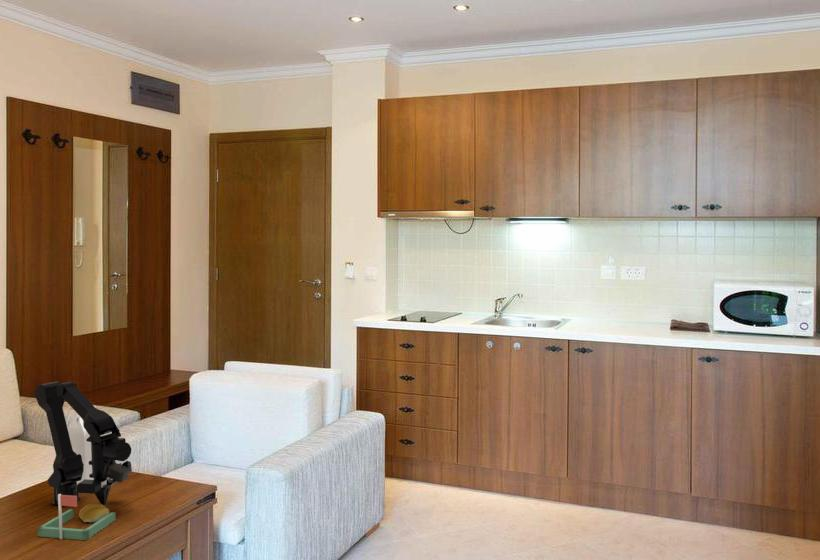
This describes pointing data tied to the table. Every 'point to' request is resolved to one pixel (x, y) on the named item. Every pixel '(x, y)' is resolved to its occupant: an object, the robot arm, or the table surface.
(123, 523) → the table surface
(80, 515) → the bread roll
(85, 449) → the milk
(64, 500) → the mini golf green
